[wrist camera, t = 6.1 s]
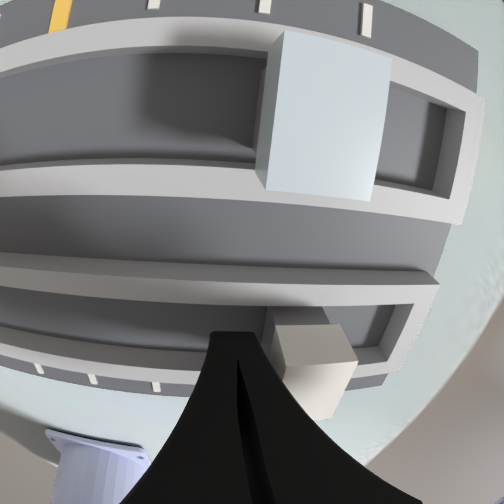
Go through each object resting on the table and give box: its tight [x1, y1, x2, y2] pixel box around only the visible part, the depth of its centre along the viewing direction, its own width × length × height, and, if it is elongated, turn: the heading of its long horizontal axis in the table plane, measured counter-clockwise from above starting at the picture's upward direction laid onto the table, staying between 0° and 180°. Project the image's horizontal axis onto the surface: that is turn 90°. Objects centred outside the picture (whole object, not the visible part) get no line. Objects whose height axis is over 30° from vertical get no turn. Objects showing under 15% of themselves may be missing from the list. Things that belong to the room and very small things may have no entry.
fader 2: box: [261, 306, 359, 421], centre depth 9 cm, size 3×2×3 cm
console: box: [0, 0, 486, 397], centre depth 9 cm, size 16×22×2 cm
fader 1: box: [252, 30, 392, 202], centre depth 6 cm, size 3×2×3 cm
